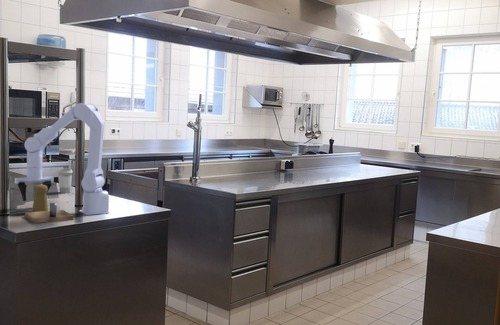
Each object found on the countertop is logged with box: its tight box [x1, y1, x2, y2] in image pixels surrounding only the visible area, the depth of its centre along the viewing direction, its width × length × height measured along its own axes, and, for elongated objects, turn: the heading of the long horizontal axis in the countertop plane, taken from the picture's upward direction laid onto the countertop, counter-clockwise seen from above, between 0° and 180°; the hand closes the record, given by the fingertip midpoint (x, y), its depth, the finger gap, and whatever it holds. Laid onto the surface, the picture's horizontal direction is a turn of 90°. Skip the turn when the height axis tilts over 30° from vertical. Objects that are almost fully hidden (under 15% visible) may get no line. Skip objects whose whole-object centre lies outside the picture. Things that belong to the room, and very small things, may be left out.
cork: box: [31, 184, 49, 212], centre depth 193 cm, size 6×6×11 cm
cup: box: [57, 168, 74, 194], centre depth 236 cm, size 7×7×12 cm
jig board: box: [24, 209, 74, 224], centre depth 184 cm, size 14×12×2 cm
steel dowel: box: [49, 202, 58, 217], centre depth 180 cm, size 2×2×5 cm
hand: (34, 200), depth 199 cm, fingers open, 7 cm apart
